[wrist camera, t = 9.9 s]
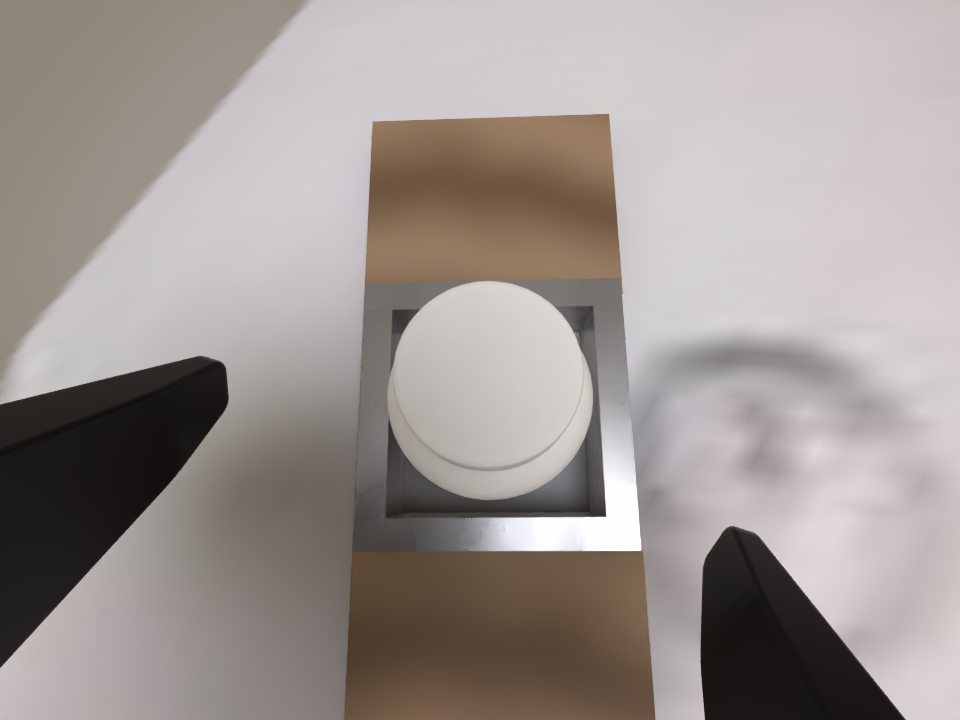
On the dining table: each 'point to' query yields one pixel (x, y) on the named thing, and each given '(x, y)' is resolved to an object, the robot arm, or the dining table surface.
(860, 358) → the dining table surface
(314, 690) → the dining table surface
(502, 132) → the brown flat rectangular board
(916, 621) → the dining table surface
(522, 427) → the supplement bottle
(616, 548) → the grey square frame
